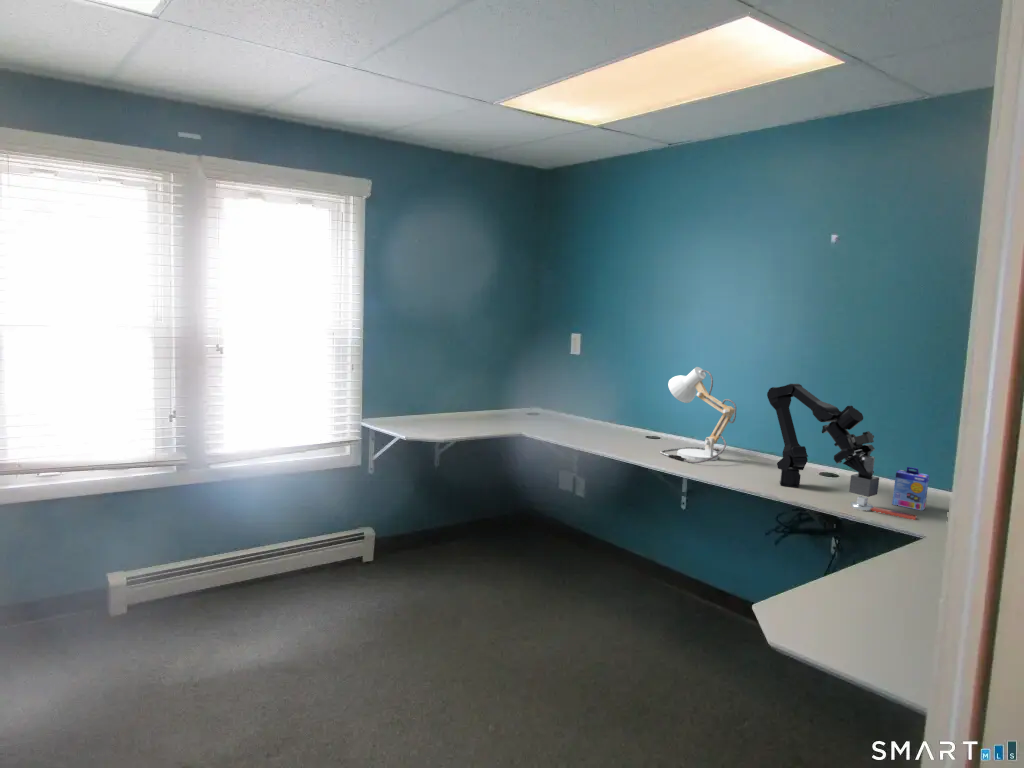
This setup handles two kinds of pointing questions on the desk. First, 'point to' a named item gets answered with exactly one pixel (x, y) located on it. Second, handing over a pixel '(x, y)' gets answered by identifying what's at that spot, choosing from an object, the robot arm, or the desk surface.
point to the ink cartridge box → (910, 489)
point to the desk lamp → (686, 392)
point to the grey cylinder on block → (865, 479)
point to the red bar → (863, 505)
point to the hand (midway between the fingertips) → (869, 474)
